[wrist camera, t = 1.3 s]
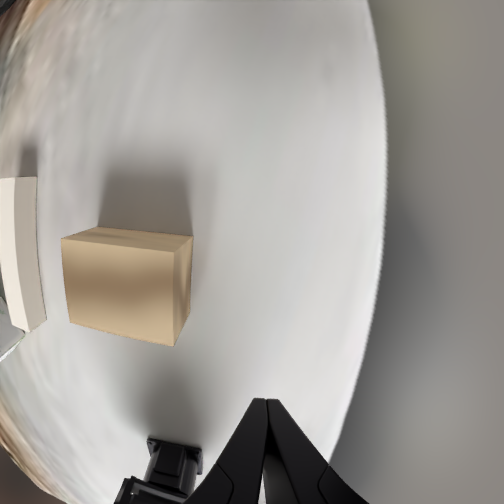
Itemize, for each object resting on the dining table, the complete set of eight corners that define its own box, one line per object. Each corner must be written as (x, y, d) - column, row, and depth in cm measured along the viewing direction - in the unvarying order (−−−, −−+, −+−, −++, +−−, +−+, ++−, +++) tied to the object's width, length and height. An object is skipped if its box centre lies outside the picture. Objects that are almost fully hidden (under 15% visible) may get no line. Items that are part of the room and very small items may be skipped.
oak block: (190, 312, 21) (173, 346, 16) (101, 296, 20) (70, 322, 16) (193, 236, 19) (174, 252, 14) (98, 226, 19) (60, 238, 14)
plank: (46, 319, 21) (29, 332, 18) (28, 313, 21) (12, 324, 18) (37, 176, 18) (15, 177, 15) (18, 177, 18) (-3, 178, 15)
